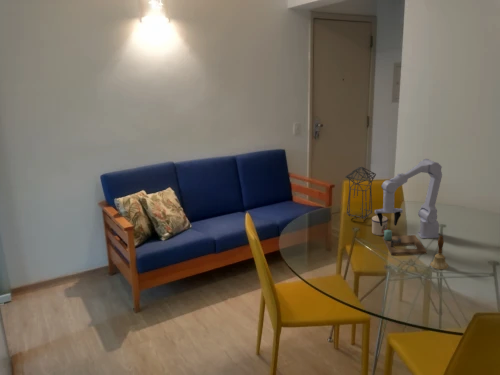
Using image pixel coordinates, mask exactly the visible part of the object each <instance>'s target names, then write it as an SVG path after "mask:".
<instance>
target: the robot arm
mask: <svg viewBox="0 0 500 375" xmlns="http://www.w3.org/2000/svg"><path fill="white" fill-rule="evenodd" d="M442 168H443V166H442V165H441V164H440V163H439V162H436V161H434V160H431V159H430V158H424V159H422V160H420V161H419V162H418V163H417V164H416V165H415V166H413V167H412V168H410V169H408V170H407V171H406V172H405V173H403V172H400V173H399V172H398V173H397V174H396V175H395V176H394V177H393V178H390V179H386V180H384V181H383V182H382V184H381V189H382V191H383V199H382V202H383V204H382V208H379V209H378V208H377V209H374V214H375V215H376V216H378V218H379V221H380V226H382V218H383V216H384V215H383V214H394V215H393V218H394V220H393V221H394V222H393V224H394V226H397V224H398V221H399V219H400V218H401V216H402V214H403V210H404V209H403V208H402V207H401V208H397V207H396V208H395V193H396V192H397V189H399V187H401V186H403V185H404V184H406V183H408V180H409V179H410V178H413V177H415V176H416V175H418V174H421V173H424V174H425V173H426V174H428V175H429V177H430V178H429V183H428V185H427V186H428V187H427V192H426V196H425V200H424V203H423V204H421V206H420V208H419V210H418V212H417V213H418V216H419V219H420V224H419V231H417V234H418V235H419V237H420V238H421V239H439V237H440V235H439V233H440V232H439V230H440V225H439V224H440V223H439V221H438V220H437V219H438V209H437V208H436V203H437V200H438V195H439V194H438V193H439V191H440V187H441V186H440V185H441V182H442V178H443V174H442V173H443V172H442Z"/></svg>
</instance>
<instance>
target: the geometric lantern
mask: <svg viewBox="0 0 500 375" xmlns="http://www.w3.org/2000/svg"><path fill="white" fill-rule="evenodd" d="M362 174H363V175H362ZM376 175H377V173H375V172H373V171H371V170H370V169H367V168H366V167H363V166H359V167H356V169H354V170H352V172H350V173H348V174H347V175H345V178H347V179H348V184H349V185H348V188H349V190H348V198H347V205H346V206H347V208H346V215H347V216H349V217H350V216H351V217H354V216H356V217H357V218H360V219H364V220H365V219H366V217H367V218H368V217H369V215H371V214H372V213H373V198H372V196H373V195H372V185H373V181H374V179H375V178H376ZM356 176H357V178H355V177H356ZM360 176H361V178H359V177H360ZM363 178H364V179H363ZM355 180H356V182H355ZM366 181H368V184H364V186H365V189H364V190H363V188H362V186H363V184H361V183H364V182H366ZM351 182H352V184H351ZM353 186H354V188H352V187H353ZM356 187H357V189H356ZM359 188H360V189H359ZM351 190H352V191H353V197H354V196H355V194H356V197H357V196H358V197H359V191H360V192H362V196H361V197H362V198H361V201H362V203H361V209H362V210H361V214H362V215H360V216H361V217H360V216H359V215H356V214H355V215H353V214H351V211H350V210H351V208H350V207H351V196H352V195H351V192H352V191H351ZM368 190H369V198H370V201H369V202H368V203H365V209H364V198H365V200H367V191H368ZM364 196H365V197H364ZM367 204H369V206H367ZM367 207H369V208H368V209H367ZM363 209H364V210H363ZM364 211H365V215H363V214H364ZM367 213H368V214H367ZM356 217H355V218H356Z"/></svg>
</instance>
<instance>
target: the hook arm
mask: <svg viewBox="0 0 500 375" xmlns="http://www.w3.org/2000/svg"><path fill="white" fill-rule="evenodd" d="M394 243H401V238H398V240H391V247H393V244H394Z"/></svg>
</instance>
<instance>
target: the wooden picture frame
mask: <svg viewBox="0 0 500 375" xmlns="http://www.w3.org/2000/svg"><path fill="white" fill-rule="evenodd" d="M398 238H401V243H394V244H393V247H391V241H386V240H384V236H382V240H383V242H384V244H385V247H386V248H387V250H388V252H389V253H390V255H391V256H397V255H396V254H406V255H427V250H426V248H425V247H424V245H423V244H422V242H421V241H420V239H419V238H418V237H417V236H416V234H412V235H411V234H410V235H409V234H408V235H407V234H405V235H392V240H398ZM411 245H413V246H415V248H404V249H396V248H395V246H411ZM424 253H426V254H424Z"/></svg>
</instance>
